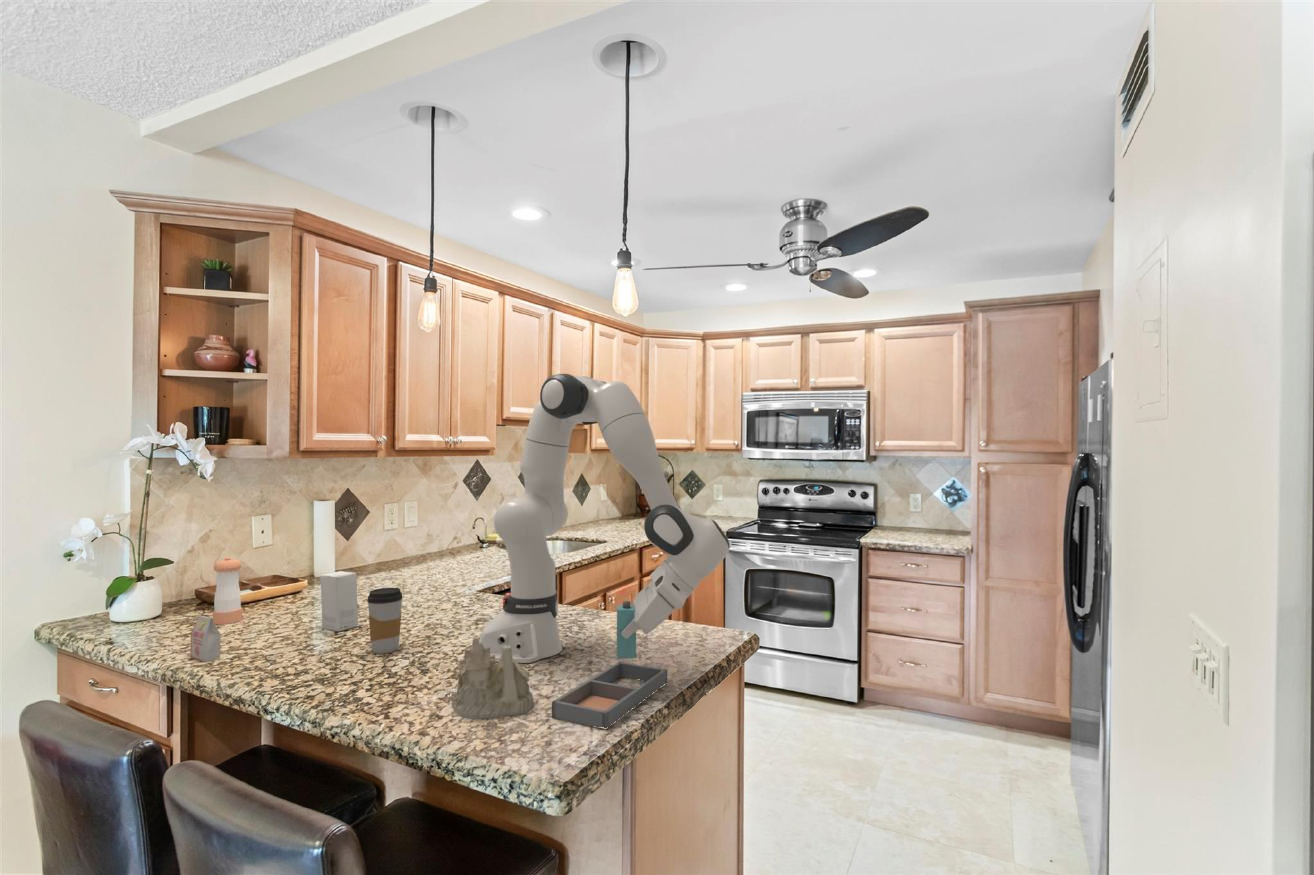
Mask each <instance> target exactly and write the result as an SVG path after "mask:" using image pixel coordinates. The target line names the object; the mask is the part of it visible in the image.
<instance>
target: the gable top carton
mask: <svg viewBox="0 0 1314 875" xmlns="http://www.w3.org/2000/svg"><path fill="white" fill-rule="evenodd" d="M190 658H191V659H193V660H196V661H199V662H201V663H205V662H209V661H213V660H217V659H220V658H221V633H220V631H219V629H218V627H217V625H216V624H214V622H213V618H211V617H208V616H205V615H201V614H200V615H197V619H196V621H195V624H194V625H193V627H192V630H191V631H190Z"/></svg>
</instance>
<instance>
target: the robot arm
mask: <svg viewBox="0 0 1314 875" xmlns="http://www.w3.org/2000/svg"><path fill="white" fill-rule="evenodd" d="M539 399H540V400H539V401H538V402H537V403H536V405H535V407H534V409H533V410H532V412H531V416H530V419H529V423H528V426H527V428H526V433H525V439H524V444H523V449H522V455H521V460H520V463H519V464H520V465H519V469H520V472H521V475H522V476H523V481H524V495H523V496H521V497H515V498H512V499H511V500H508V501H507V502H505V503H504V504H502V505H501V506H499V508H498V509H497V510H496V512H495V515H494V517H493V526H494V529H495V532H496V534H497V535H498V537H499V538H501V540H502V541H503V544H504V545H505V549H506V551H507V552H506V553H507V556H508V560H509V566H510V568H509V569H510V592H507V593H505V595H504V596H503V599H502V611H501V612H499V613H498V614H497V615H496V616H495V617H493V618H492V619H491V620H489V622H487V623H486V624H485V626H483V628H482V630H481V632H480V636H479V640H478V642H482V644H483V646H484V648H485V647H489V646H490V656H492V655H495V661H496V663H498V661H499V659H500V657H501V656H502V652H503V647H504V646H510V647H511V652H512V657H513V659H514V661H516V662H517V663H518V664H519V663H520V664H530V663H534V662H536V661H539V660H541V659H546V658H550V657H553V656H556V655H557V654H559V653H561V652H562V651H563V645H562V642H561V638H560V634H559V628H558V617H557V616H558V612H559V607H558V606H559V599H558V593H557V592H556V562H555V560H554V558H553V557H552V556H551V554H550V551H549V547H548V544H547V537H548V536H551V535H553V534H556V532H558V531H560V529H561V528H562V527H564V525H565V524H566V523H567V521H568V515H569V511H568V507H567V504H566V502H565V492H564V490H565V489H564V486H565V485H564V481H565V479H564V477H565V472H566V471H565V470H566V466H567V465H566V464H567V461H568V456H569V455H568V454H569V448H570V443H571V437H572V433H573V430H574V428H575V427H576V425H578V424H580V423H581V424H582V425H584V426H588V425H592V424H593V425H594V424H597V425H598V428H599V431H600V433H601V436H602V438H603V440H604V442H605V444H606V447H607V448H608V450H609V451H610V453H611V454H612V456H613V458H614V459H615V460H616V461H617V462H618V464H620V465H621V466H622V467H623V468H624V469H625V470H626V471H627V472H628V473H629V474H630V475H631V476H632V477H633V479H634V480H635V481H636V483H637V484H638V485H639V487H640V489H641V490H642V493H643V495H644V497H645V499H646V502H647V503H648V504H647V505H648V506H649V508H650V511H649V512H648V514H647V515H646V517H645V519H644V523H643V524H644V529H643V530H644V533H645V536H646V538H647V539H648V541H649V542H650V544H651V545H652V546H654V547H656V548H657V549H659V550H660V551H661V552H662V553H664V554H665V555H666V556H667V557H666V558H665V560H663V561H662V562H661V563H660V564H659V565H658V566H657V567H656V568H655V570H653V571H652V572H651V574H650V575H649V577H650V579H651V581H650V582H648V583H647V585H645V586H644V587H643V588H642V589H641V590H640V591H639V592H638V593H637V594H636V595H635V597H634V598H633V605H635V608H636V610H635V612H634V619H633V620H632V622H631V623H630V624H629V625H628V626H626V627H625V628H624V629H623V630H622V631H621V634H622V636H623V637H624V638H626V639H628V638H629V637H630V636H631V635H632V634H633V633H635V632H636V633H637V632H638V631H639V630H641V631H642V632H643V633H644V634H649V633H651V632H652V631H654V630H655V629H656V628H657V627H658V626H660V625H661V624H662V623H664V621H665V620H667V618H669V617H670V616H671V615H672V614H673V612H674V611H675V610H676V611H679V610H680V609H682V607H683V606H684V605H685V603H686V600H687V599H688V598H689V597H690V595H691V594H692V593H693V592H694V591H695V590H696V589H697V587H698V585H699V583H700V582H701V581H702V580H704V579H705V578H708V577H709V576H710V575H711V574H712V573H713V572H714V571H715V569H717V567H718V566H719V565H720V564H721V563H722V562H723V561H724V559H725V558H726V557H727V555H728V553H729V551H730V547H731V546H730V540H729V538H728V536H727V535H726V534H725V531H724V530H722V528H721V526H720V525H719V524H718V523H717V522H716V521H715V520H713V519H712V518H705V517H700V516H697V515H693V514H691V513H689V512H687V511H685V510H683V509H682V508H681V507H680V505H679V503H678V501H677V499H676V497H675V495H674V493H673V490H672V488H671V487H670V485H669V482H668V479H667V478H666V475H665V472H664V471H663V470H664V469H663V468H662V464H661V461H660V458H659V453H658V450H657V449H658V448H657V445H656V441H655V437H654V433H653V430H652V427H651V425H650V422H649V419H648V418H647V414H646V413H645V411H644V409H643V407H642V405H641V404H640V402H639V400H638V398H637V397H636V395H635V394H634V392H633V391H632V390H631V389H630V387H629V386H628V385H627V384H626V383H624V382H622V381H614V380H613V381H609V382H606V381H603V380H598V379H595V378H592V377H589V376H580V375H573V374H569V373H557V374H552V375H550V376H549V377H548V378H546V379H545V381H544V382H543V384H542V386H541V388H540V392H539Z"/></svg>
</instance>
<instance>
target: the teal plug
mask: <svg viewBox="0 0 1314 875" xmlns="http://www.w3.org/2000/svg"><path fill="white" fill-rule="evenodd" d="M635 610H636V608H635V605H634V604H631V601H629V600H624V601H622V604H621V605H620V604H619V605H617V606H616V659H636V658H637V631H636V632H635V633H633V634H632V635H631V636H630V637H629V638H628V639H626V638H624V637H623V636H622V634H621V631H622V630H623V629H624V628H625V627H626V626H628V625H629V624H630V623H631V622H632V620H633V619H634V612H635Z"/></svg>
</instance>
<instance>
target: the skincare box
mask: <svg viewBox="0 0 1314 875" xmlns="http://www.w3.org/2000/svg"><path fill="white" fill-rule="evenodd" d="M357 585H358V584H357V572H352V571H344V570H343V571H342V570H339V571H334V572H330V573H324V574H320V593H321V594H320V598H321V599H320V600H321V602H320V603H321V626H322V627H321V628H322V629H324V630H329V631H334V632H342V631H346V630H350V629H354V628H357V627H358V626H359V616H358V615H359V613H358V612H359V611H358V586H357Z"/></svg>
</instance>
